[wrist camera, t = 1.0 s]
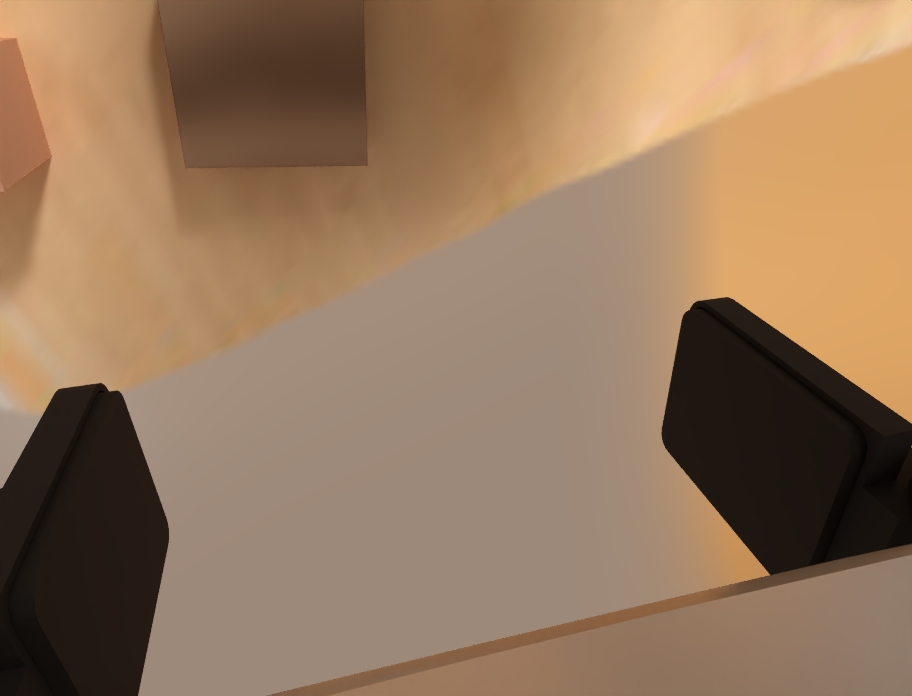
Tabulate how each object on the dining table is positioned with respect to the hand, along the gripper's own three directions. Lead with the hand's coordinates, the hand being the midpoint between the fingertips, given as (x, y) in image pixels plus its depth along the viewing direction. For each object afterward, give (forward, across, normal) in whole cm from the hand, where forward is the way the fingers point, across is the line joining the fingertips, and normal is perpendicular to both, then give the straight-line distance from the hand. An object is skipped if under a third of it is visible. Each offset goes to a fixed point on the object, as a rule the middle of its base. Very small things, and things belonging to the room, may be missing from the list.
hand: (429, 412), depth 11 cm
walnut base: (+25, +2, -3) cm, 26 cm away
